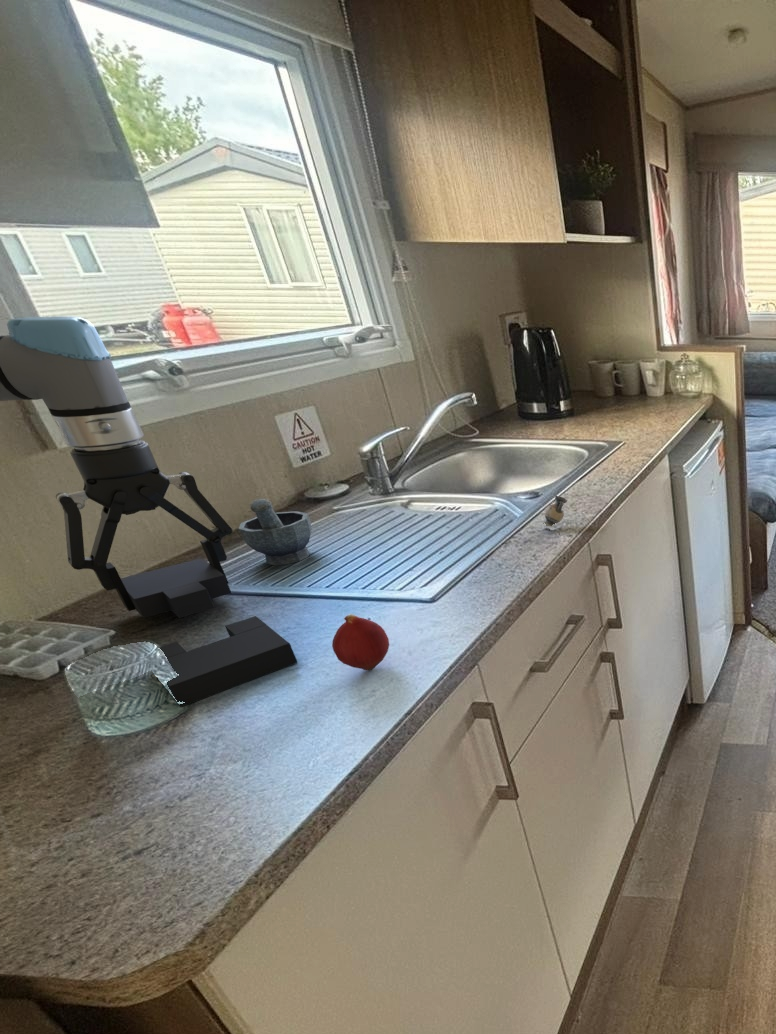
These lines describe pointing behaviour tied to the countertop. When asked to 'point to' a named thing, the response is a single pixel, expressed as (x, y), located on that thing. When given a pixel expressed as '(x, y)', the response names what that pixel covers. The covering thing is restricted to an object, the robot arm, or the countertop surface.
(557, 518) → the vase
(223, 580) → the pad
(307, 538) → the mortar and pestle
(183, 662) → the notch pad
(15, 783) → the countertop surface
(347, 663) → the onion
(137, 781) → the countertop surface
